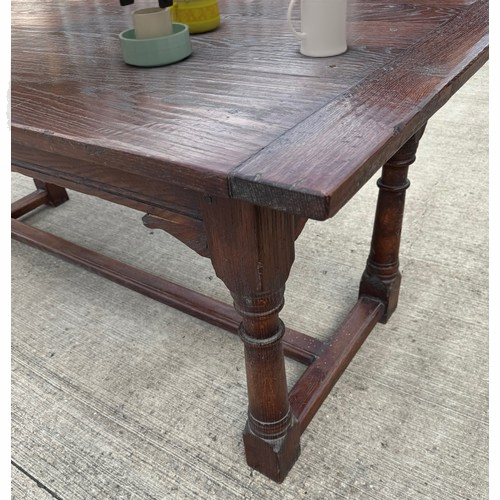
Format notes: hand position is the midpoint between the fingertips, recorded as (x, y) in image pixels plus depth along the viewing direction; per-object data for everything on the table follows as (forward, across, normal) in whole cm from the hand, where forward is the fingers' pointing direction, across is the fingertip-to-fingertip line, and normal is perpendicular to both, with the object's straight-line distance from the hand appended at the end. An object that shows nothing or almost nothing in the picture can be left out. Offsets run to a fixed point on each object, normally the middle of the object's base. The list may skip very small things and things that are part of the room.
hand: (146, 6), depth 93 cm
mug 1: (+9, -7, +21) cm, 24 cm away
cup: (+9, 0, +1) cm, 9 cm away
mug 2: (+9, +28, +13) cm, 32 cm away
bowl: (+9, 0, +1) cm, 9 cm away
